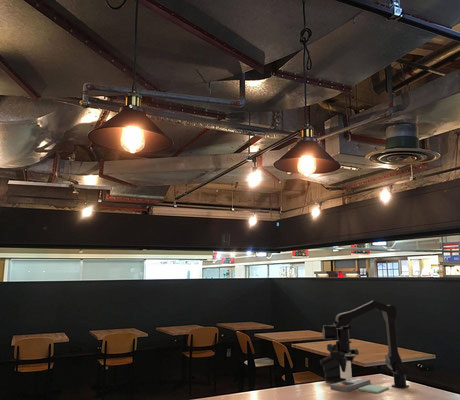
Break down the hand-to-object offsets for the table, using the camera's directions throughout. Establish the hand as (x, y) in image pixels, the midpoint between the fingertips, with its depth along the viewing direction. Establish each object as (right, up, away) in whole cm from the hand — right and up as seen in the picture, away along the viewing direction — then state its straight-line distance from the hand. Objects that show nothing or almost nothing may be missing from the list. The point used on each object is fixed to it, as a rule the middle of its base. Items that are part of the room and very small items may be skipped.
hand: (345, 371), depth 215 cm
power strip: (+4, -8, +3) cm, 10 cm away
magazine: (-3, -11, +14) cm, 18 cm away
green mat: (+12, -6, -7) cm, 15 cm away
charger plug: (0, -3, -1) cm, 3 cm away
